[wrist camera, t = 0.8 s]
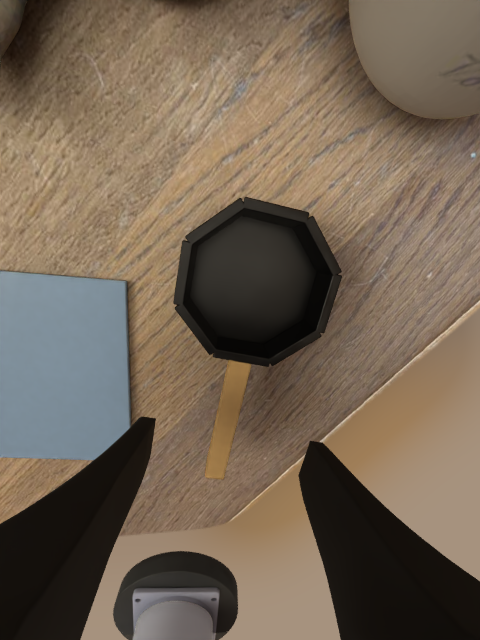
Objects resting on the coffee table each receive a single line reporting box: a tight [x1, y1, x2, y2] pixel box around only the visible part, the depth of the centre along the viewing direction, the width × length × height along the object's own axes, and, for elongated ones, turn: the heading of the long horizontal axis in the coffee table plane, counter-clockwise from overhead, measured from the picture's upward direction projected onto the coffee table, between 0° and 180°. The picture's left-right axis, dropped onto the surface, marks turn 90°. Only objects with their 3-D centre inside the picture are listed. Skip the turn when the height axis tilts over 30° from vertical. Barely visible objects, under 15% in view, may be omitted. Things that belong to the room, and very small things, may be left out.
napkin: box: [0, 270, 131, 460], centre depth 16 cm, size 13×11×1 cm
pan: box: [173, 197, 342, 480], centre depth 14 cm, size 16×8×3 cm, turn 168°
